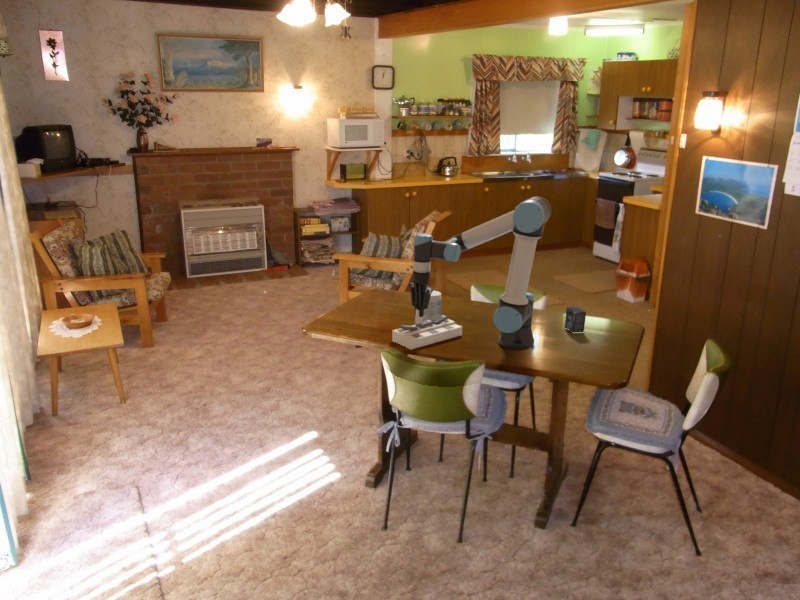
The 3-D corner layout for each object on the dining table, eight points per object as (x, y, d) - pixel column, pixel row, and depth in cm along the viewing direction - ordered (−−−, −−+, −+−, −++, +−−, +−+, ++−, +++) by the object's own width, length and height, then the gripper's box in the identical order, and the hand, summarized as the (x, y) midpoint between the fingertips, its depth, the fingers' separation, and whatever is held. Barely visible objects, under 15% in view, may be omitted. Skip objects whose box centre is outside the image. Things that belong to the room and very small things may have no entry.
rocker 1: (416, 330, 297) (417, 327, 297) (404, 330, 292) (405, 326, 292) (411, 328, 299) (412, 325, 299) (399, 328, 294) (400, 324, 294)
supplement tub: (442, 326, 316) (443, 296, 312) (421, 327, 315) (422, 296, 310) (438, 319, 325) (439, 289, 321) (418, 320, 324) (419, 290, 319)
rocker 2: (432, 324, 302) (432, 321, 302) (420, 328, 298) (420, 325, 298) (427, 322, 305) (427, 319, 304) (415, 326, 300) (415, 323, 300)
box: (564, 328, 318) (566, 306, 315) (574, 327, 320) (577, 306, 316) (572, 334, 311) (575, 312, 308) (584, 333, 312) (586, 311, 309)
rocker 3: (447, 319, 308) (447, 316, 307) (436, 325, 304) (436, 322, 303) (442, 317, 310) (442, 314, 309) (431, 323, 306) (431, 320, 306)
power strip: (471, 332, 310) (472, 321, 308) (410, 349, 287) (410, 338, 286) (452, 325, 318) (453, 314, 317) (392, 341, 296) (392, 330, 295)
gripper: (438, 272, 290) (435, 325, 296) (418, 266, 299) (415, 317, 306) (425, 275, 285) (422, 329, 292) (404, 268, 294) (402, 320, 301)
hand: (418, 323), depth 299 cm, fingers closed
